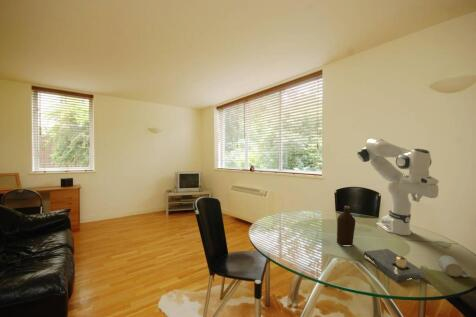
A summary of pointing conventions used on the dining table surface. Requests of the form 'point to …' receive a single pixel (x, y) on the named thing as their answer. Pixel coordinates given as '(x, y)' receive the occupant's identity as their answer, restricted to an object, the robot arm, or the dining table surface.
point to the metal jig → (387, 265)
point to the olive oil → (345, 227)
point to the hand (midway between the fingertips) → (415, 201)
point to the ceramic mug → (451, 266)
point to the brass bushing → (401, 263)
